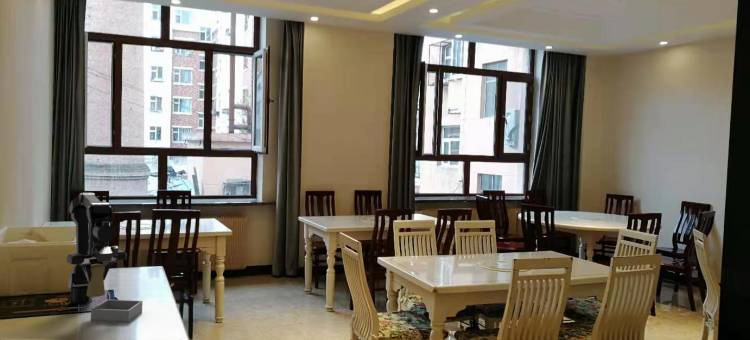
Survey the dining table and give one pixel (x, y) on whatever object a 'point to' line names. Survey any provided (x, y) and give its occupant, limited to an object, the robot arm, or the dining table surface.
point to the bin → (116, 311)
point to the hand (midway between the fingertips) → (96, 280)
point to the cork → (96, 281)
